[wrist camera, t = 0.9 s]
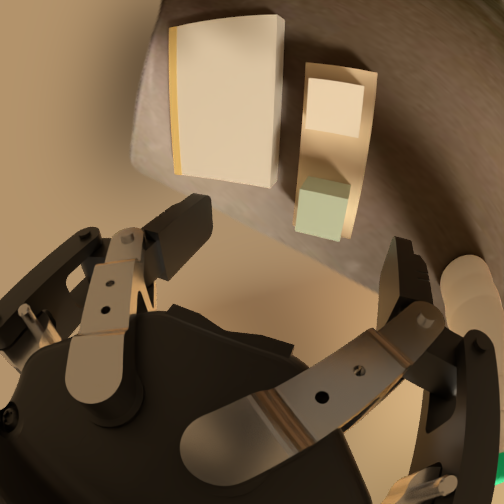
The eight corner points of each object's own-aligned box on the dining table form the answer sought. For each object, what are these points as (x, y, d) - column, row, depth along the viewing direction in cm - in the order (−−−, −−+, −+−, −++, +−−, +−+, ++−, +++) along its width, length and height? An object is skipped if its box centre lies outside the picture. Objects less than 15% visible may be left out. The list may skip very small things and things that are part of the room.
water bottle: (494, 278, 24) (530, 474, 5) (453, 306, 28) (457, 498, 10) (473, 241, 23) (525, 466, 4) (429, 274, 28) (430, 495, 9)
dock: (182, 30, 23) (168, 28, 21) (284, 20, 19) (276, 14, 17) (186, 167, 33) (174, 174, 31) (277, 180, 30) (269, 188, 28)
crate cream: (316, 79, 19) (308, 77, 16) (364, 87, 18) (364, 86, 15) (313, 123, 21) (305, 128, 19) (359, 131, 20) (358, 138, 18)
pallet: (314, 66, 21) (305, 62, 18) (375, 75, 20) (377, 73, 17) (301, 209, 31) (292, 225, 28) (352, 220, 29) (350, 238, 26)
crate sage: (308, 175, 24) (299, 188, 22) (351, 185, 23) (348, 199, 20) (303, 214, 27) (294, 231, 24) (343, 223, 25) (339, 241, 23)
